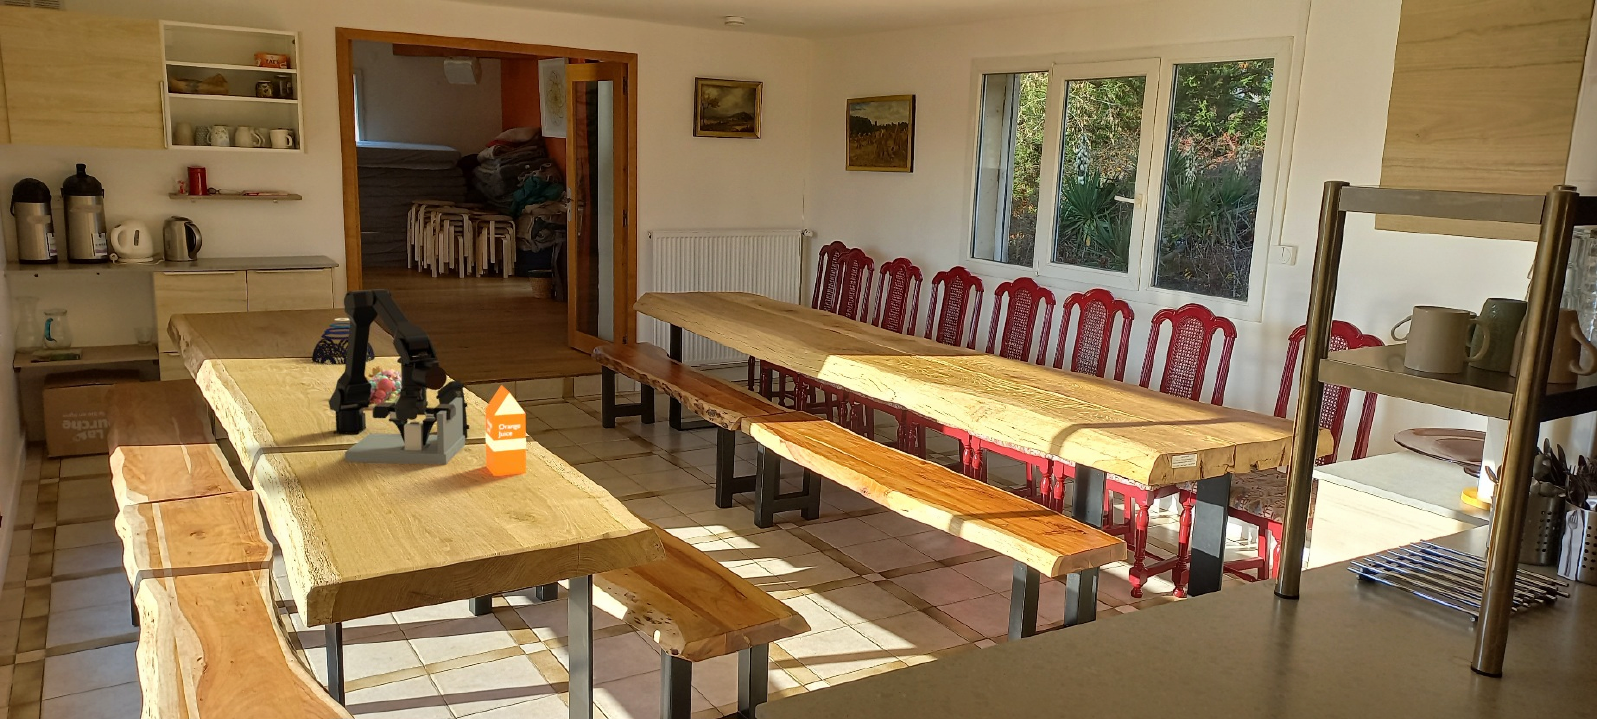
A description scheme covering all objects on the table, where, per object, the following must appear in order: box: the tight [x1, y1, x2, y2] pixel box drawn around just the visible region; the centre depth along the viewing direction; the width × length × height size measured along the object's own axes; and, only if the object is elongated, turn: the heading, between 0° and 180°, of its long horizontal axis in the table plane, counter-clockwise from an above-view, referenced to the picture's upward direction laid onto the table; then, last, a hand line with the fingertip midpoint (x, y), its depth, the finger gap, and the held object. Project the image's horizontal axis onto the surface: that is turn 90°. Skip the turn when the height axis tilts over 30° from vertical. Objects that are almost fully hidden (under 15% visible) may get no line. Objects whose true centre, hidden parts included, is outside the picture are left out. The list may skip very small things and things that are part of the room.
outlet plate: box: [344, 398, 466, 465], centre depth 276 cm, size 24×18×12 cm
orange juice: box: [484, 384, 527, 477], centre depth 265 cm, size 8×9×20 cm
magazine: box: [435, 380, 470, 440], centre depth 296 cm, size 4×13×15 cm, turn 39°
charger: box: [404, 420, 426, 450], centre depth 274 cm, size 4×4×8 cm
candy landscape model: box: [365, 365, 402, 410], centre depth 333 cm, size 25×24×9 cm
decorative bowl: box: [311, 317, 376, 365], centre depth 390 cm, size 20×20×14 cm
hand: (415, 444), depth 274 cm, fingers closed on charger, 4 cm apart
